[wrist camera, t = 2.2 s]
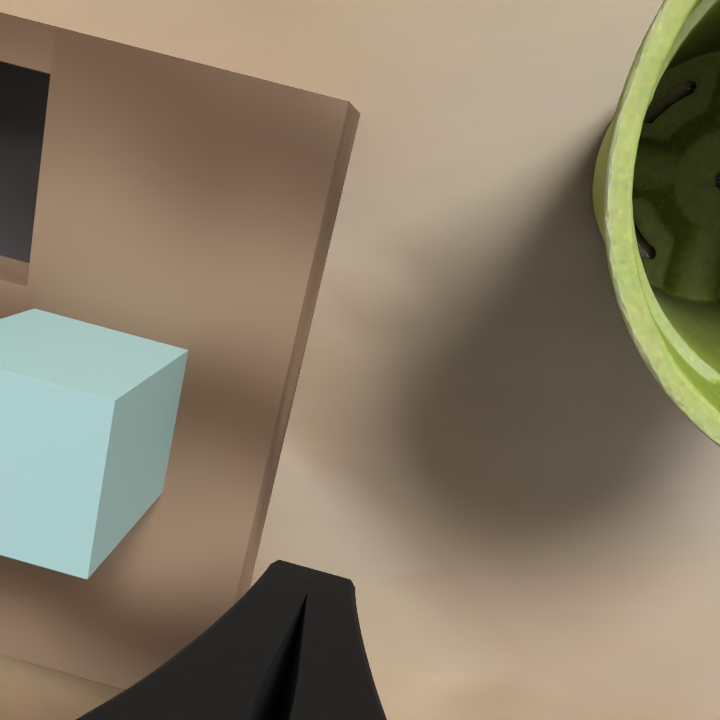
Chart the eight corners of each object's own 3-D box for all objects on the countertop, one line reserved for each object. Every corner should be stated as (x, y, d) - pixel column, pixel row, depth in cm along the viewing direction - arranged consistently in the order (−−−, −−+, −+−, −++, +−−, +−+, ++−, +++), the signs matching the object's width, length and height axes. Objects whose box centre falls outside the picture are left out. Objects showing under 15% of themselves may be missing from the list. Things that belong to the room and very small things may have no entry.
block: (162, 492, 17) (87, 579, 14) (17, 452, 18) (-98, 527, 14) (188, 350, 16) (115, 400, 13) (34, 308, 17) (-86, 346, 13)
